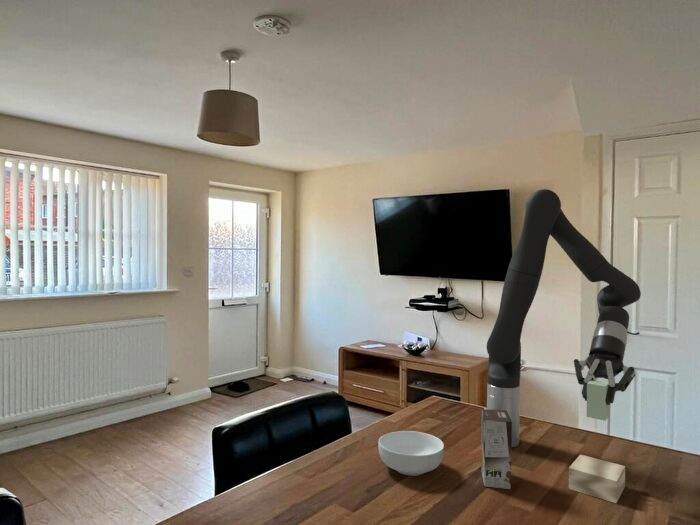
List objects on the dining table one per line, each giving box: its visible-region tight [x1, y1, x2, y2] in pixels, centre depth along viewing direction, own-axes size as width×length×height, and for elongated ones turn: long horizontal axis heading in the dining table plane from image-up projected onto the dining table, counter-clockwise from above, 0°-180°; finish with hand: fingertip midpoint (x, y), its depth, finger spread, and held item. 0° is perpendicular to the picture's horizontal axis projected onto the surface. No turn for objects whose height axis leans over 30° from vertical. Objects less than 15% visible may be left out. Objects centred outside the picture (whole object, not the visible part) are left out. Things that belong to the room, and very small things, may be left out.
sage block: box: [586, 380, 610, 421], centre depth 110 cm, size 4×4×8 cm
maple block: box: [568, 454, 626, 504], centre depth 111 cm, size 10×10×5 cm
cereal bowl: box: [377, 430, 445, 477], centre depth 120 cm, size 17×17×7 cm
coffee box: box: [480, 408, 513, 490], centre depth 114 cm, size 9×6×16 cm
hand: (596, 400), depth 109 cm, fingers closed on sage block, 4 cm apart
